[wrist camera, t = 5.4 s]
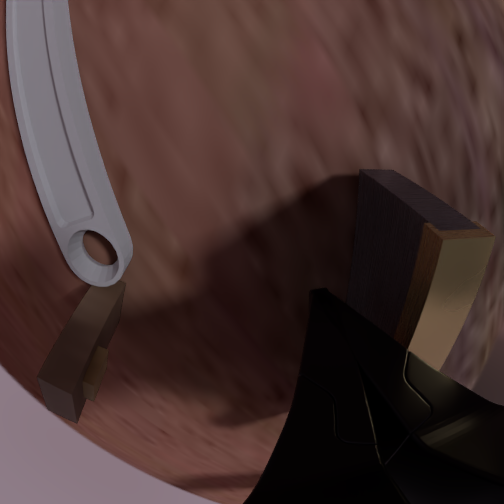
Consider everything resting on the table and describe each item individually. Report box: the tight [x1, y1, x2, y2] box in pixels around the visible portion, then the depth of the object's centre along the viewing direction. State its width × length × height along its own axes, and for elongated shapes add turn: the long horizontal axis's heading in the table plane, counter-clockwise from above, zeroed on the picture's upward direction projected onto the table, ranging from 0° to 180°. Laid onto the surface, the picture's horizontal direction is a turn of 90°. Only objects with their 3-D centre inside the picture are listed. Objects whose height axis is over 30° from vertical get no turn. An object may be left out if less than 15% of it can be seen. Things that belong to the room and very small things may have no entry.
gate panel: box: [346, 169, 496, 371], centre depth 9 cm, size 11×2×5 cm, turn 4°
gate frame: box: [37, 280, 126, 423], centre depth 11 cm, size 14×3×6 cm, turn 56°
